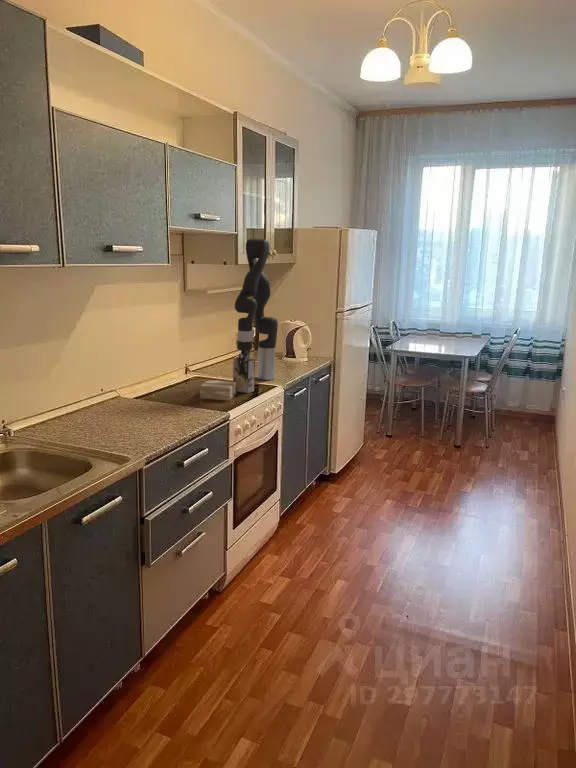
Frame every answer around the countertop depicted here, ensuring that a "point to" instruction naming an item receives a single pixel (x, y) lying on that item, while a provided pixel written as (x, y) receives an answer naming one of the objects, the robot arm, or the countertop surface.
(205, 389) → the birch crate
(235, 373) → the coffee box
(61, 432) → the countertop surface
